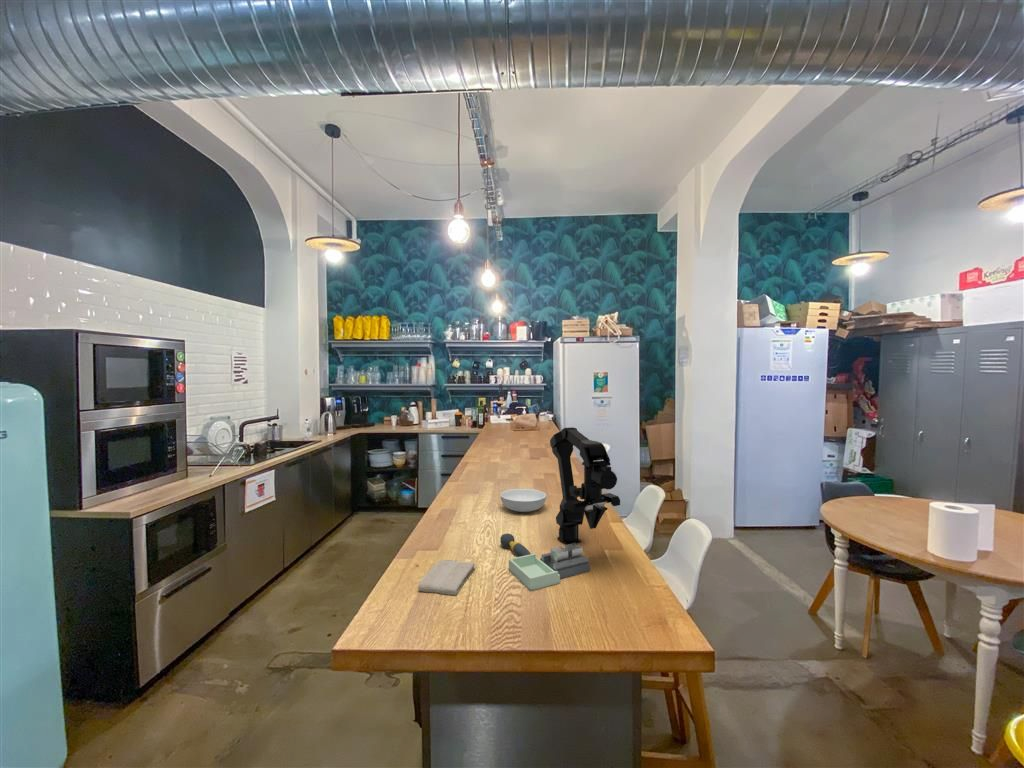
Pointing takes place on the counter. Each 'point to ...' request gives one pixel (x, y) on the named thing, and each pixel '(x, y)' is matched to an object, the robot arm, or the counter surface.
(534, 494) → the serving bowl
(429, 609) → the counter surface
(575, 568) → the slot board
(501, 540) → the paintbrush
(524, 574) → the chip tray
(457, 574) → the washcloth
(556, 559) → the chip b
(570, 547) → the grey cube
